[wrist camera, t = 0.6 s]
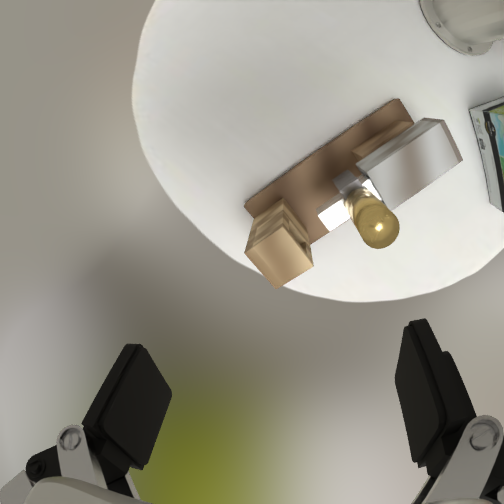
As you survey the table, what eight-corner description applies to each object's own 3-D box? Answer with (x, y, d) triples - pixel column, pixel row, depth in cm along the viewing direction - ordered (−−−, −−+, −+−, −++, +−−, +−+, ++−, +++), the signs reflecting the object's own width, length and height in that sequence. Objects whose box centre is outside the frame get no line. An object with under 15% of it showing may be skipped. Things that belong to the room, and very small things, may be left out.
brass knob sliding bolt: (416, 122, 24) (472, 131, 15) (435, 157, 26) (491, 181, 16) (308, 196, 29) (319, 236, 20) (331, 228, 31) (349, 279, 22)
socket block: (283, 197, 35) (282, 226, 26) (307, 228, 36) (313, 266, 28) (254, 218, 36) (244, 253, 28) (278, 248, 38) (275, 289, 29)
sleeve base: (394, 99, 29) (434, 96, 19) (429, 158, 31) (473, 178, 22) (245, 202, 37) (231, 236, 28) (287, 254, 40) (287, 300, 30)
